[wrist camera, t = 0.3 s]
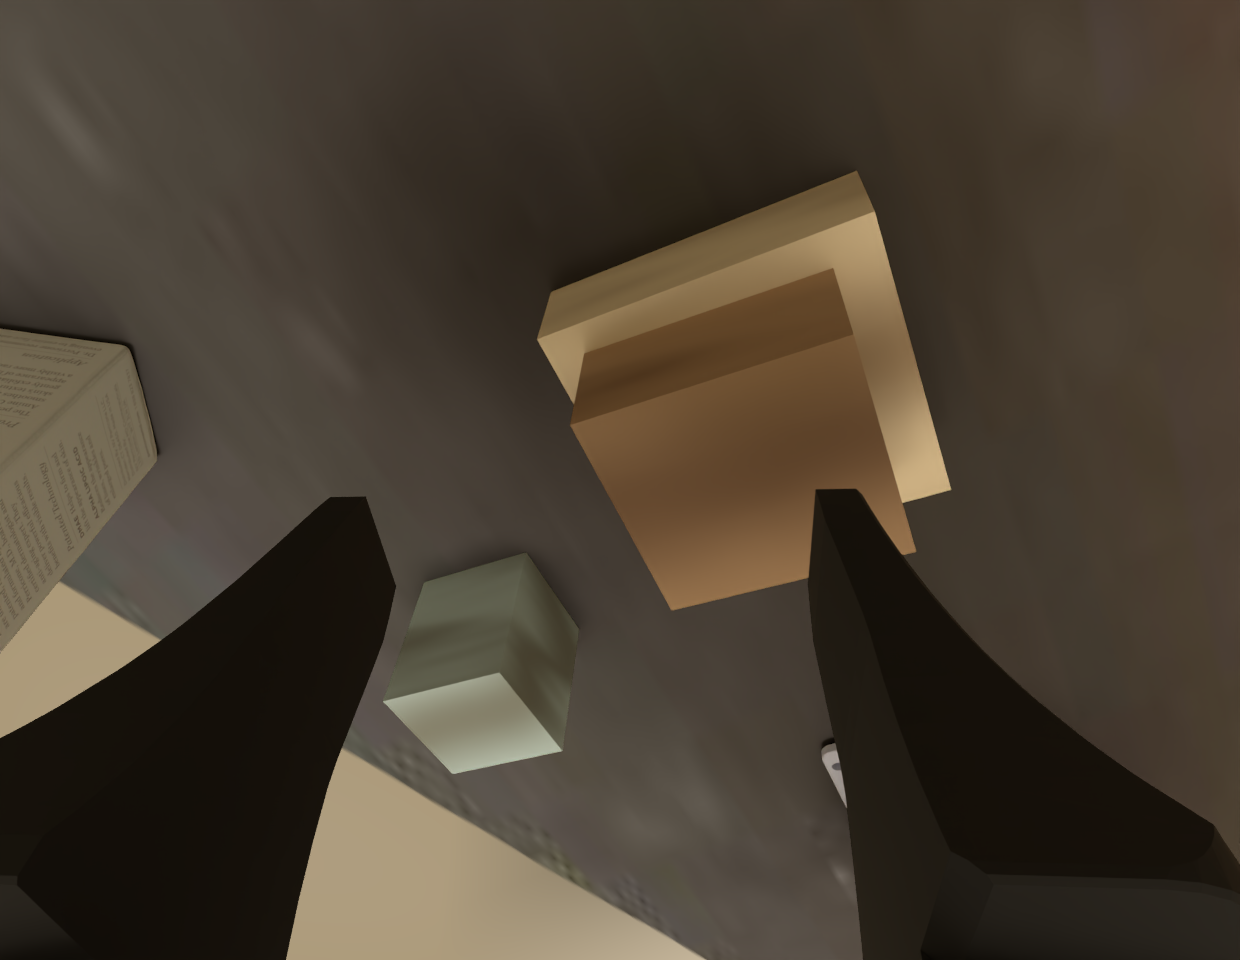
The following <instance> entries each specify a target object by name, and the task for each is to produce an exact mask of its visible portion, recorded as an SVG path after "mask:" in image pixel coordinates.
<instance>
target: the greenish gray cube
mask: <svg viewBox="0 0 1240 960" xmlns="http://www.w3.org/2000/svg"><path fill="white" fill-rule="evenodd" d="M578 635H579V628H578V627H577V625H576V624H575V622H574V621H573V620H572V618H571V617H570V615H569V614H568V612H567V611H566V609H565V608H564V606H563V605H562V604H561V602H560V601H559V599H558V598H557V596H556V595H555V593H554V592H553V590H552V589H551V588H550V586H549V585H548V583H547V582H546V580H545V579H544V577H543V576H542V575H541V573H540V572H539V570H538V569H537V567H536V566H535V564H534V563H533V561H532V560H531V559H530V557H529V556H528V554H527V553H526V552H525V553H522V554H519V555H515V556H512V557H508V558H505V559H502V560H498V561H495V562H491V563H488V564H485V565H481V566H478V567H474V568H471V569H468V570H464V571H461V572H457V573H454V574H451V575H447V576H444V577H440V578H437V579H434V580H430V581H427V582H424V584H423V587H422V590H421V593H420V596H419V599H418V602H417V605H416V608H415V611H414V613H413V616H412V619H411V622H410V625H409V628H408V631H407V634H406V637H405V639H404V642H403V645H402V648H401V651H400V654H399V657H398V660H397V663H396V665H395V668H394V671H393V674H392V677H391V680H390V683H389V686H388V689H387V692H386V694H385V697H384V700H383V702H384V703H385V704H386V705H387V706H388V707H389V708H390V709H391V710H392V711H393V712H394V713H395V714H396V715H397V716H398V717H399V718H400V719H401V721H402V722H403V723H404V724H405V725H406V726H407V727H408V728H409V729H410V730H411V731H412V732H413V733H414V734H415V735H416V736H417V737H418V738H419V739H420V740H421V741H422V742H423V744H424V745H425V746H426V747H427V748H428V749H429V750H430V751H431V752H432V753H433V754H434V755H435V756H436V757H437V758H438V759H439V760H440V761H441V762H442V763H443V764H444V765H445V766H446V768H447V769H448V770H449V771H450V772H451V773H452V774H455V773H460V772H464V771H469V770H474V769H479V768H484V767H488V766H493V765H498V764H503V763H507V762H512V761H517V760H522V759H526V758H531V757H536V756H541V755H545V754H550V753H555V752H560V751H562V750H563V743H564V736H565V729H566V722H567V714H568V707H569V700H570V693H571V685H572V678H573V671H574V664H575V657H576V649H577V642H578Z"/></svg>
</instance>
